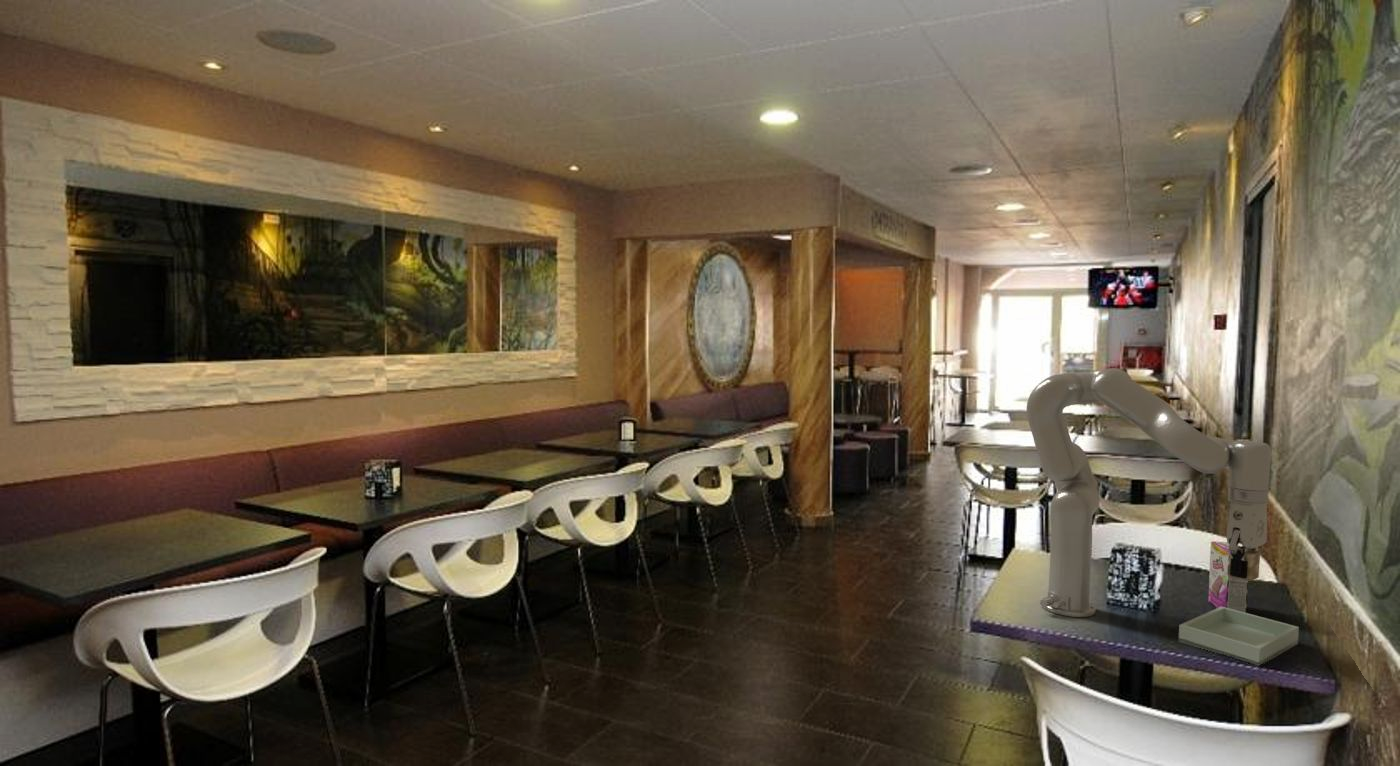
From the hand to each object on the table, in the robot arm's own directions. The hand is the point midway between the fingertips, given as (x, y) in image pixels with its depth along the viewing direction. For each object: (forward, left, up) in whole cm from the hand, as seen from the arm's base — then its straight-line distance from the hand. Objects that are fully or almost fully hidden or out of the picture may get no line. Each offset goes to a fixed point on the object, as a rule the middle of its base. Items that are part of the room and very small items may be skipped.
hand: (1243, 574), depth 181 cm
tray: (0, 0, -16) cm, 16 cm away
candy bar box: (+22, +11, -16) cm, 30 cm away
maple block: (0, 0, -1) cm, 1 cm away
